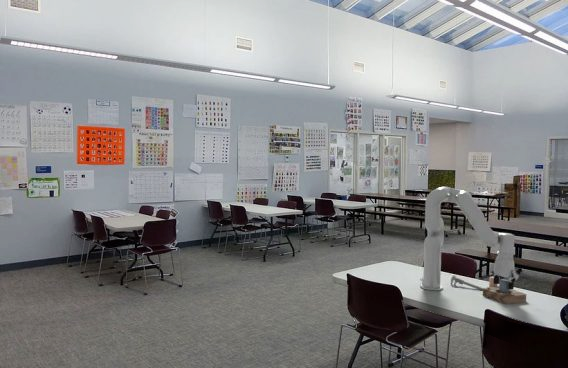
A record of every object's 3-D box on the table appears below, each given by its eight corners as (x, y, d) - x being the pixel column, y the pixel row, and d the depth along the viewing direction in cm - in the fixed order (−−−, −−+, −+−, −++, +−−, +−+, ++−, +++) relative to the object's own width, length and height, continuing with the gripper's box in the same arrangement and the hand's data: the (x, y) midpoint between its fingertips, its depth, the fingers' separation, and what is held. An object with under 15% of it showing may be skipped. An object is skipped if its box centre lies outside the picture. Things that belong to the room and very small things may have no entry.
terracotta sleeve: (487, 290, 252) (487, 276, 252) (492, 289, 254) (493, 276, 253) (493, 292, 248) (493, 278, 248) (499, 291, 250) (499, 278, 249)
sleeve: (496, 297, 240) (497, 279, 239) (503, 296, 241) (504, 278, 241) (504, 300, 235) (505, 282, 234) (511, 299, 237) (511, 281, 236)
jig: (482, 295, 243) (483, 286, 243) (501, 292, 248) (501, 284, 248) (506, 304, 228) (507, 295, 228) (526, 301, 233) (526, 292, 233)
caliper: (450, 285, 263) (451, 274, 263) (451, 284, 264) (451, 274, 264) (486, 291, 250) (487, 281, 250) (487, 291, 251) (487, 280, 251)
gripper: (487, 252, 244) (485, 282, 245) (513, 260, 227) (511, 291, 229) (497, 251, 246) (495, 281, 247) (524, 259, 230) (522, 290, 231)
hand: (503, 286), depth 238 cm, fingers open, 9 cm apart
